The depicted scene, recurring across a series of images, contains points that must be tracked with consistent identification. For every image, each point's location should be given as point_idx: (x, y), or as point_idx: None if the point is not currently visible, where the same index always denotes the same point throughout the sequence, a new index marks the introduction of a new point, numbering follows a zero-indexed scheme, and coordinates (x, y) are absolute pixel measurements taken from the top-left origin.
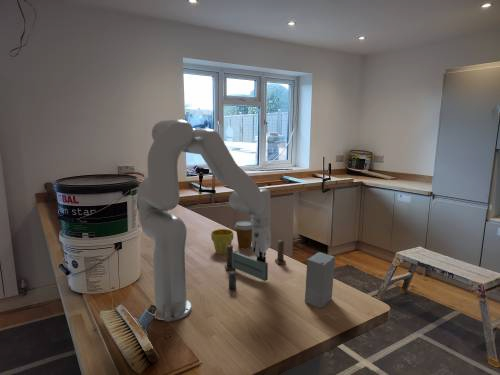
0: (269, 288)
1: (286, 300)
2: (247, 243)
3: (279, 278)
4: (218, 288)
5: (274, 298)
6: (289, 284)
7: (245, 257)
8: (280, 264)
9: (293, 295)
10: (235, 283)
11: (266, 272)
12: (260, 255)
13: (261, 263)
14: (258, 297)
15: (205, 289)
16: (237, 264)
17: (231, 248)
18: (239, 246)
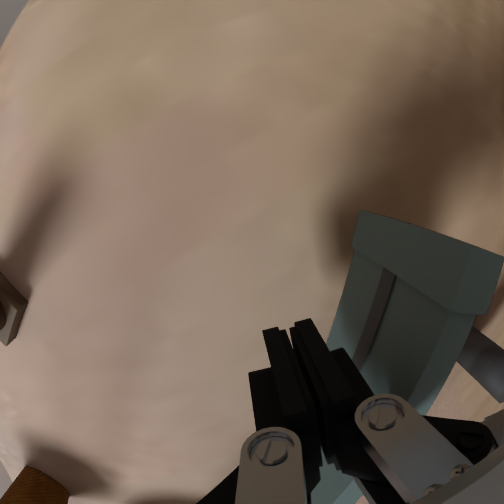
0: (396, 159)
1: (440, 31)
2: (39, 491)
3: (203, 168)
4: (464, 379)
5: (462, 91)
6: (259, 53)
7: (360, 496)
8: (14, 290)
9: (378, 2)
10: (484, 339)
11: (413, 225)
12: (474, 425)
13: (472, 319)
14: (489, 176)
15: (473, 400)
16: None
17: None
18: (67, 498)
